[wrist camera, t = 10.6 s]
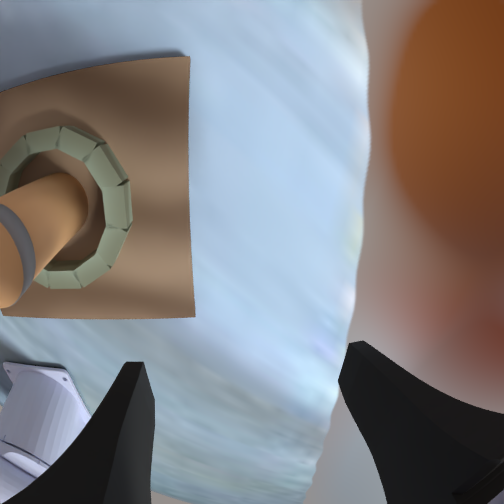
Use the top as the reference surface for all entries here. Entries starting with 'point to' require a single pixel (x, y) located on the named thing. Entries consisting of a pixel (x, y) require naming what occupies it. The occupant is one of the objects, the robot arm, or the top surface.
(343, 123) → the top surface
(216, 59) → the top surface
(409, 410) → the robot arm
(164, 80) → the dock socket
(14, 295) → the peg
